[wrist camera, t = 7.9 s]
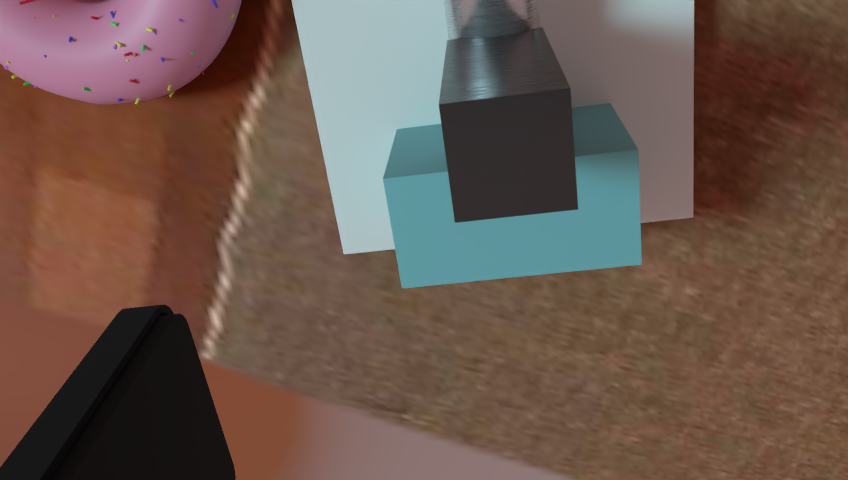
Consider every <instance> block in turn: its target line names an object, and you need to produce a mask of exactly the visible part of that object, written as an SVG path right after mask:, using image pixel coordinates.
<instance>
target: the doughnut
mask: <svg viewBox="0 0 848 480" xmlns="http://www.w3.org/2000/svg"><path fill="white" fill-rule="evenodd" d="M241 1H242V0H0V63H1V64H2V65H3V66H4V68H5V69H8V70H9V71H11V72H12V73H14V74H15V75H13V76H11V77H12V79H14V78H16V77H20V78H22V79H23V80H25V81H27V82H26V83H23V84H24V86H26V85H29V84H33V86H34V87H35V88H37V87H39V88H41V89H44V90H46V91H49V92H52V93H54V94H58V95H61V96H64V97H68V98H72V99H76V100H80V101H84V102H89V103H95V104H97V105H99V104H121V103H131V102H135V104H138V102H141V101H148V100H152V99H156V98H159V97H162V96H165V95H167V94H169V97H172V95H173V93H174V92H175V91H176V90H178V89H180V88H181V87H183V86H185V85H186V84H188V83H189V82H191V81H192V80H193V79H195V78H196V77H197V76H198V75H200V74H202V75H203V74H205V73H204V72H203V71H204V70H205V69H206V68H207V67H208V66H209V65H210V64H211V63H212V62H213V61H214V59H215V58H216V57H217V56H218V54H219V53H220V51H221V50H222V48H223V46H224V45H225V43H226V41H227V39H228V37H229V36H230V34H231V31H232V29H233V27H234V24H235V22H236V19H237V16H238V13H239V9H240V6H241Z"/></svg>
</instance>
